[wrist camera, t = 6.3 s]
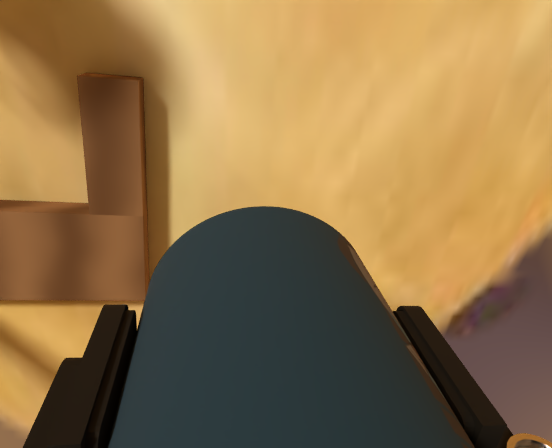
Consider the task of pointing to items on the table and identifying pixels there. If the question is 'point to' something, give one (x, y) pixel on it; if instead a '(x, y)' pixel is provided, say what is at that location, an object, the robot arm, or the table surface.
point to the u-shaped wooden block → (87, 210)
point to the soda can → (274, 347)
